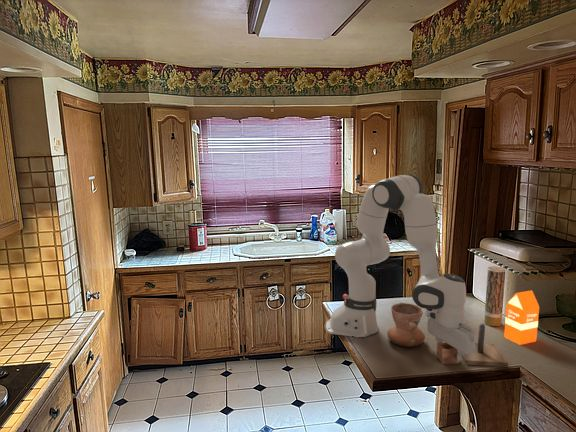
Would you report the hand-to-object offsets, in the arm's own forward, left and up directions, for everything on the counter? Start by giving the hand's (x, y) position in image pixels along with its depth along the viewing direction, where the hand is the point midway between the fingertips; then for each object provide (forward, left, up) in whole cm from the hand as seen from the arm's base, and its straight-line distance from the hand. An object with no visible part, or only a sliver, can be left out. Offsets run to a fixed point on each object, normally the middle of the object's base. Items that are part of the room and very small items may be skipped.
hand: (449, 354), depth 155 cm
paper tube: (+26, +34, -2) cm, 43 cm away
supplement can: (+3, +41, -2) cm, 41 cm away
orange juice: (+32, +20, -2) cm, 38 cm away
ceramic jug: (-14, +13, -2) cm, 19 cm away
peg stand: (+12, +4, -2) cm, 13 cm away
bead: (-1, 0, -2) cm, 2 cm away
